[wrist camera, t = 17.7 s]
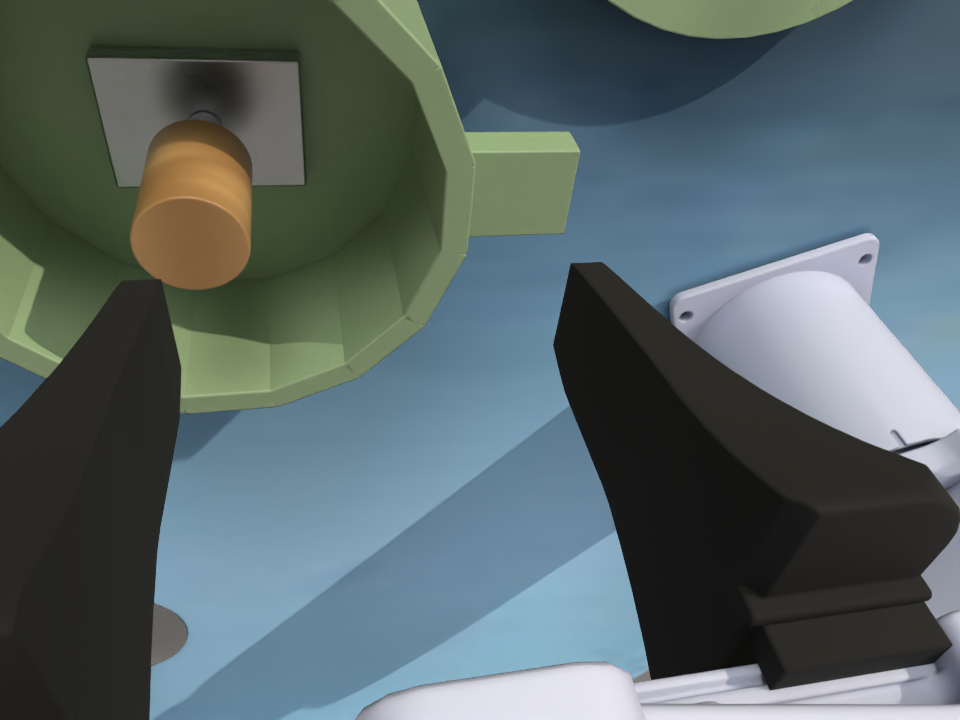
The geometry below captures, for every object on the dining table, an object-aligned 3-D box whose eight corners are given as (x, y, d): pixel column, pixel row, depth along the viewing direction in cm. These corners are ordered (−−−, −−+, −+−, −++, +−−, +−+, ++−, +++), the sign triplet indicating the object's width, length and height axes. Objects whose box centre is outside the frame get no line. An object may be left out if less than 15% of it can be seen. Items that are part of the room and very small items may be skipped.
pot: (502, 275, 27) (542, 387, 23) (-72, 301, 23) (-139, 440, 19) (562, -140, 19) (640, -72, 15) (-324, -202, 15) (-531, -133, 11)
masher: (299, 49, 20) (308, 169, 16) (306, 174, 22) (315, 306, 18) (88, 44, 19) (37, 171, 15) (119, 175, 21) (83, 317, 17)
